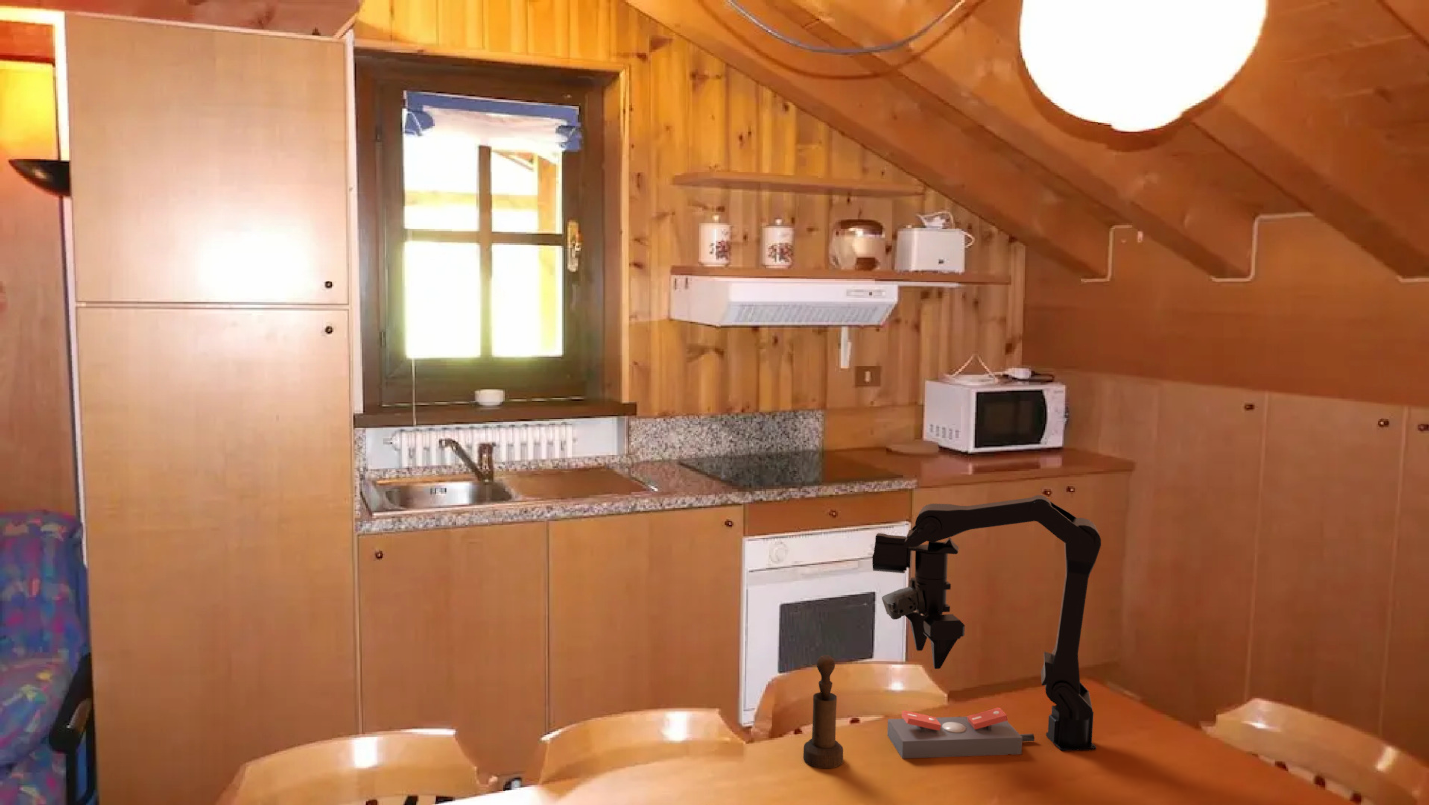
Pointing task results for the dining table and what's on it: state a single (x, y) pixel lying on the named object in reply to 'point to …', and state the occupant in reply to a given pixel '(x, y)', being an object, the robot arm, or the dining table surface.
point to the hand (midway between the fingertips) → (928, 659)
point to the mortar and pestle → (824, 722)
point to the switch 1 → (921, 720)
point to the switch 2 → (987, 718)
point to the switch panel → (955, 739)
